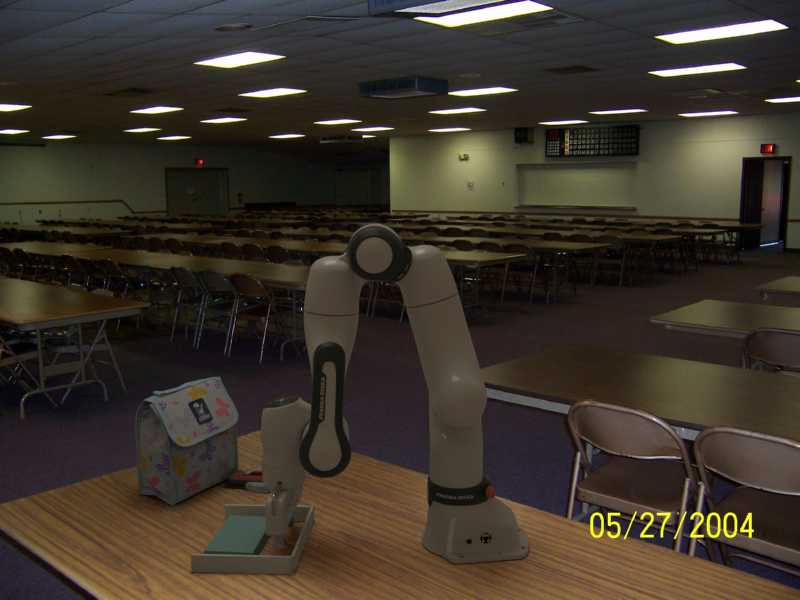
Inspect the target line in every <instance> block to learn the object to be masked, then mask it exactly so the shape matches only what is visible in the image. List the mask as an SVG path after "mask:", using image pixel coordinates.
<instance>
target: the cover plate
mask: <svg viewBox="0 0 800 600" xmlns="http://www.w3.org/2000/svg"><path fill="white" fill-rule="evenodd" d="M265 518H266V517H262V516H239V515H230V516H229V517H228V519H227V520H225V521H224V522H223V524H222V525H221V526H220V528H219V530H218V531H217V532H216V533H215V535H214V536H213V537H212V538H211V540H210V542H209V543H207V544H208V545H206V547H205V549H203V554H228V555H260V553H261V551H262V550H263V548H264V547H265V544H266V543H267V542H268V540H269V538H270V536H267V534H266V530H265Z"/></svg>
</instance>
